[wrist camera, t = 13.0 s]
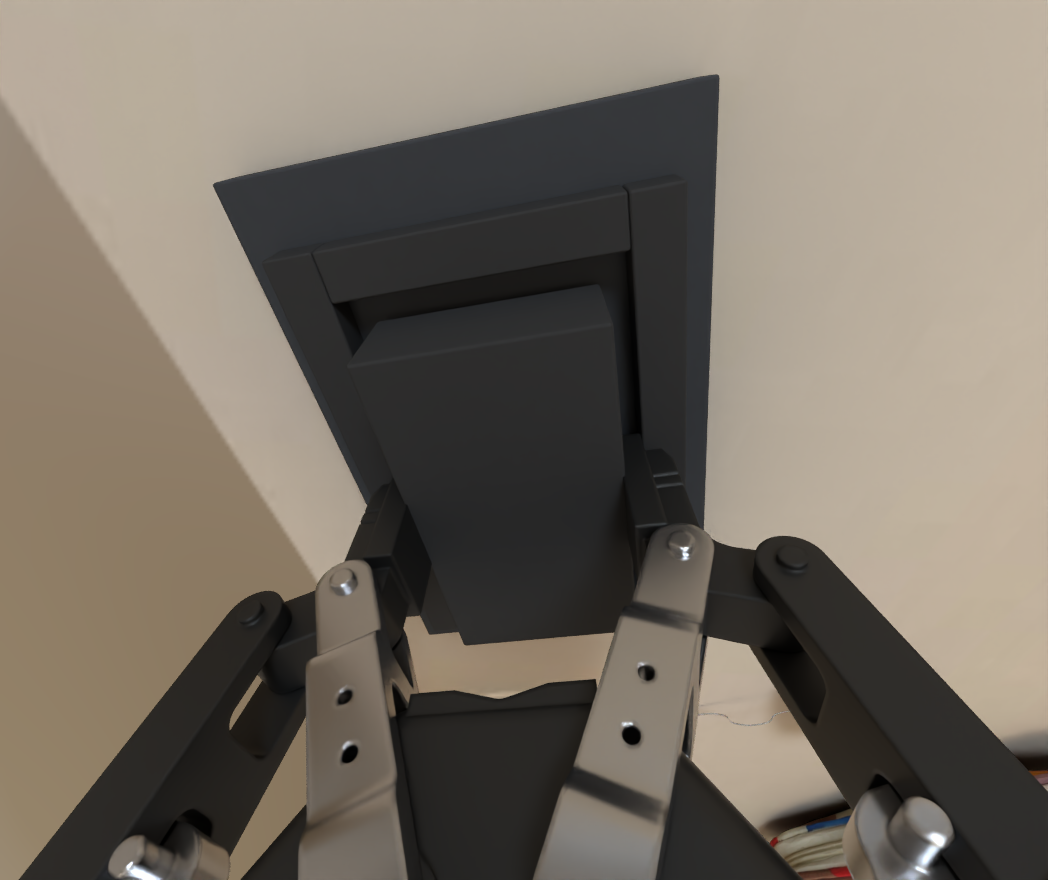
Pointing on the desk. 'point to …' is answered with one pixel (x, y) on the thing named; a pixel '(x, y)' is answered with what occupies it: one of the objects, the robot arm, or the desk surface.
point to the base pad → (505, 253)
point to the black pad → (509, 459)
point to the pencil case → (828, 844)
